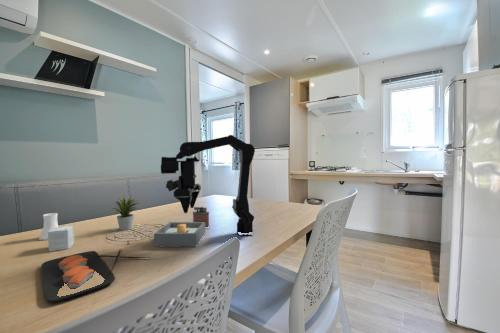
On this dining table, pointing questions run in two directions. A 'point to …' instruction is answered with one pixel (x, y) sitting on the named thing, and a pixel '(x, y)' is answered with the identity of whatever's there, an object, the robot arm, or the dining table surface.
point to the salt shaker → (48, 224)
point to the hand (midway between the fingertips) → (189, 210)
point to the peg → (181, 228)
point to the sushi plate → (75, 273)
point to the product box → (60, 238)
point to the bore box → (179, 234)
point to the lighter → (201, 215)
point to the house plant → (125, 213)
